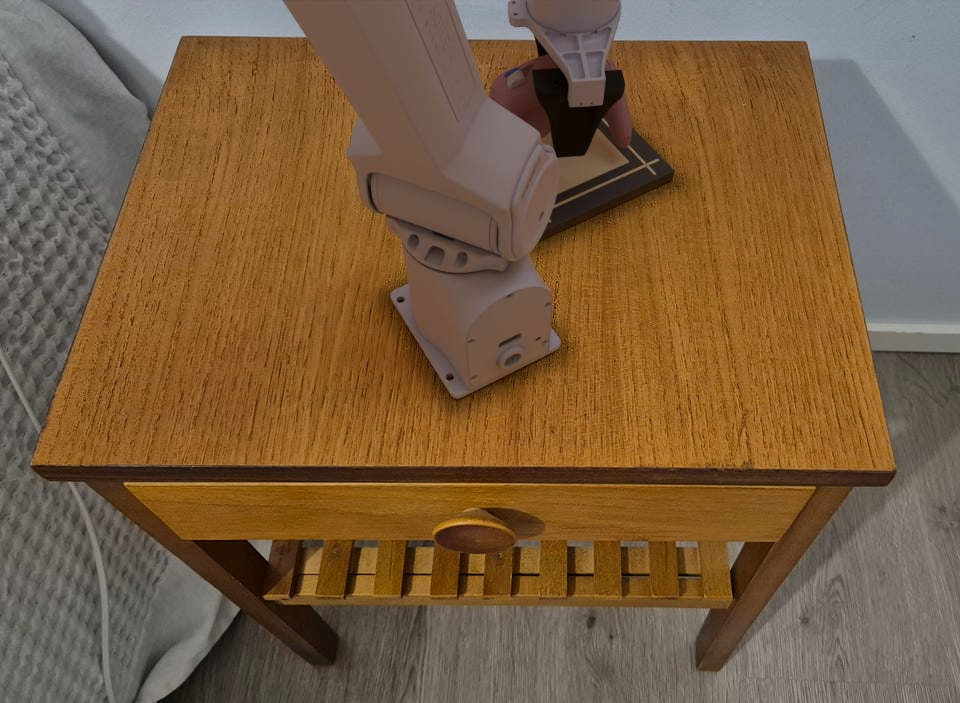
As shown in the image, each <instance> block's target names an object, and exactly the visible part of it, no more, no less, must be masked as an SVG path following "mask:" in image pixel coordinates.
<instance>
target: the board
mask: <svg viewBox="0 0 960 703" xmlns="http://www.w3.org/2000/svg"><path fill="white" fill-rule="evenodd" d="M541 140H542V143H543V144H546V145H550V146H551V147H553V143H552V137H551V131H550V133H549V134H548V135H547V136H545V137H544V138H542V139H541ZM557 159H558V161H559V164H560V182H559V188H558V192H557V197H556V200H555V204H554V207H553V210H552V213H551V216H550V219H549V221H548V224H547V226H546V228H545V230H544V232H543V234H542V236H541V238H540V240H539V242H541V241H543V240H545V239H547V238H550V237H552V236H554V235H557V234H559V233H561V232H562V231H565V230H568V229H569V228H571V227H574V226H577V225H578V224H580V223H583V222H585V221H587V220H589V219H591V218H593V217H596V216H598V215H600V214H602V213H604V212H607V211H609V210H611V209H613V208H616V207H617V206H619V205H623V203H626V202H628V201H630V200H633V199H635V198H637V197H640V196H642V195H644V194H646V193H648V192H650V191H652V190H655V189H657V188H658V187H661V186H663V185H665V184H668V183H670V182H672V181H673V180H674V175H675V169H673V167H672V166H671V165H670V164H669V163H668V162H667V161H666V160H665V159H664V158H663V157H662V156H661V154H659V153H658V152H657V151H656V150H655V149H654V148H653V147H652V146H651V145H650V144H649V143H648V142H647V141H646V140H645V139H644V138H643V136H641V135H640V133H638V131H637V130H636V129H634V127H632V136H631V141H630V144H629V146H628V147H626V148H621V147H619V145H618V144H617V143H616V141H615V139H614V137H613V135H612V133H611V131H610V128H609V125H608V122H607V120H606V117H605V115H604V117H603V119H602V120H601V122H600V124H599V126H598V128H597V130H596V132H595V135H594V137H593V139H592V142H591V144H590V146H589V148H588V150H587V152H586V154H585V155H584V156H576V157H562V158H558V157H557Z"/></svg>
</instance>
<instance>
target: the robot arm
mask: <svg viewBox="0 0 960 703" xmlns="http://www.w3.org/2000/svg"><path fill="white" fill-rule="evenodd" d="M282 2H283V4H284V5H285V7H286V8H287V9H288V11H289V13H290V15H291V16H292V17H293V19H294V21H295V22H296V24H297V25H298V26H299V28H300V29H301V31H302V33H303V34H304V36H305V37H306V39H307V40H308V41H309V43H310V44H311V46H312V47H313V49H314V51H315V52H316V54H317V55H318V57H319V58H320V60H321V61H322V63H323V65H324V66H325V67H326V69H327V71H328V72H329V73H330V75H331V76H332V78H333V79H334V81H335V82H336V84H337V85H338V87H339V88H340V90H341V91H342V93H343V95H344V96H345V97H346V99H347V100H348V102H349V104H350V105H351V107H352V108H353V110H354V111H355V113H356V114H357V116H358V118H357V120H356V123H355V125H354V127H353V130H352V132H351V135H350V139H349V143H348V146H347V150H346V154H345V156H346V158H347V159H348V161H349V162H350V164H351V165H352V167H353V168H354V171H355V175H356V176H355V177H356V184H357V188H358V193H359V197H360V200H361V202H362V204H363V205H364V207H365V208H366V210H369V211H370V212H372V213H375V214H379V215H384V214H385V220H386V226H387V230H388V231H389V232H391V233H393V234H394V235H396V236H397V237H398V238H399V239H400V242H401V249H402V253H403V259H404V265H405V271H406V277H407V283H406V284H404V285H401V286H399V287H397V288H395V289H393V290H391V292H390V295H389V296H390V300H391V302H392V304H393V305H394V307H395V309H396V310H397V312H398V314H399V315H400V317H401V319H402V320H403V322H404V323H405V325H406V326H407V328H408V329H409V331H410V333H411V334H412V336H413V337H414V339H415V340H416V342H417V344H418V345H419V347H420V349H421V350H422V352H423V353H424V355H425V356H426V358H427V361H429V363H430V365H431V366H432V368H433V369H434V371H435V373H436V375H437V376H438V378H439V379H440V381H441V383H442V384H443V385H444V387H445V389H446V390H447V392H448V393H449V396H451V397H452V398H453V399H461V398H464V397H466V396H468V395H470V394H471V393H474V392H476V391H478V390H481V389H482V388H484V387H486V386H488V385H490V384H492V383H494V382H496V381H498V380H500V379H502V378H504V377H506V376H508V375H510V374H512V373H515V372H516V371H518V370H521V369H522V368H524V367H526V366H528V365H531V364H532V363H533V362H536V361H538V360H540V359H542V358H544V357H547V356H548V355H550V354H552V353H554V352H556V351H557V350H559V349H560V347H561V344H562V340H561V338H560V337H559V336H558V335H557V333H556V332H555V330H554V329H553V328H552V320H553V319H552V317H553V307H554V306H553V304H554V299H553V294H552V292H551V290H550V288H549V286H548V285H547V284H546V282H545V281H544V279H543V278H542V277H541V275H540V274H539V272H538V270H537V269H536V267H535V265H534V262H533V260H532V258H531V256H530V253H531V252H533V250H534V249H535V248H536V246H538V243H539V242H540V241H539V240H540V238H541V236H542V234H543V232H544V230H545V228H546V226H547V224H548V221H549V219H550V216H551V213H552V210H553V207H554V204H555V200H556V197H557V192H558V188H559V182H560V164H559V161H558V159H557V157H558V158H562V157H576V156H584V155H585V154H586V152H587V150H588V148H589V146H590V144H591V142H592V139H593V137H594V135H595V132H596V130H597V128H598V126H599V124H600V122H601V120H602V119H603V117H604V115H605V114H606V113H607V112H608V110H609V109H610V108H611V107H612V106H613V105H614V104H615V103H616V102H617V101H619V100H620V99H621V98H622V96H623V93H624V90H626V81H625V76H624V73H623V69H618V70H607V71H604V69H605V65H606V62H607V59H609V56H610V53H611V49H612V46H613V43H614V40H615V37H616V33H617V30H618V27H619V24H620V21H621V14H622V1H621V0H509V1H508V2H507V17H508V22H509V25H510V26H512V27H514V28H527V29H528V30H529V31H530V32H531V33H532V35H533V38H534V41H535V45H536V49H537V50H536V51H537V55H538V57H541V56H544V55H548V54H549V55H550V56H551V58H552V59H553V60H554V61H555V63H556V64H557V65H558V67H559V68H551V69H537V70H532V77H533V83H534V89H535V94H536V96H537V99H538V101H539V103H540V105H541V106H542V107H543V108H544V110H545V112H546V114H547V116H548V119H549V122H550V130H551V137H552V143H553V147H551V146H550V145H546V144H543V143H542V140H541V136H540V133H539V132H538V131H537V130H536V129H535V128H533V127H532V126H531V125H529V124H528V123H526V122H525V121H523V120H522V119H520V118H519V117H517V116H516V115H514V114H513V113H511V112H510V111H508V110H507V109H505V108H504V107H502V106H501V105H499V104H498V103H496V102H495V101H493V100H492V99H490V96H488V95H487V92H486V89H485V86H484V84H483V81H482V78H481V75H480V72H479V69H478V66H477V64H476V60H475V57H474V55H473V52H472V49H471V46H470V43H469V39H468V37H467V35H466V32H465V31H466V30H465V28H464V26H463V23H462V20H461V17H460V14H459V11H458V7H457V4H456V2H455V0H282ZM538 57H537V58H538ZM400 301H402V302H400ZM448 378H453V379H451V380H448Z"/></svg>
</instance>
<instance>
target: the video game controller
mask: <svg viewBox="0 0 960 703" xmlns="http://www.w3.org/2000/svg"><path fill="white" fill-rule="evenodd" d="M551 68H559V67H558V65H557V64H556V63H555V61H554V60H553V59H552V58H551V56H550V55H549V54H548V55H544V56H541V57H535V58H533V59H530V60H528V61H525V62H523V63H522V64H520V65H518V66H515V67H513V68H511V69H509V70H506V71H503V72H502V73H500V74H499V75H498V76H497V77H496V78H495V79H494V80H493V82H492V84H491V86H490V90H489V98H490V99H492V100H493V101H495V102H496V103H498V104H499V105H501V106H502V107H504V108H505V109H507V110H508V111H510V112H511V113H513V114H514V115H516V116H517V117H519V118H520V119H522V120H523V121H525V122H526V123H528V124H529V125H531V126H532V127H533V128H535V129H536V130H537V131H538V132H539V133H540V136H541V139H542V138H544V137H545V136H547V135H548V134H549V133H550V131H551V130H550V122H549V119H548V116H547V114H546V112H545V110H544V108H543V107H542V106H541V105H540V103H539V101H538V99H537V96H536V94H535V89H534V83H533V77H532V70H537V69H551ZM607 70H619V69H618V67H617V66H616V65H615V63H614V62H613V61H612V60H610V59H609V58H608V59H607V62H606V65H605V69H604V71H607ZM625 90H626V89H625ZM625 90H624V93H623V96H622V98H621V99H620V100H619V101H617V102H616V103H615V104H614V105H613V106H612V107H611V108H610V109H609V110H608V112H607V113H606V114H605V117H606V120H607V122H608V125H609V128H610V131H611V133H612V135H613V137H614V139H615V141H616V143H617V144H618V145H619V147H621V148H626V147H628V146H629V144H630V141H631V136H632V128H633V123H632V119H631V112H630V106H629V103H628V99H627V96H626V95H627V94H626V91H625Z"/></svg>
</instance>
